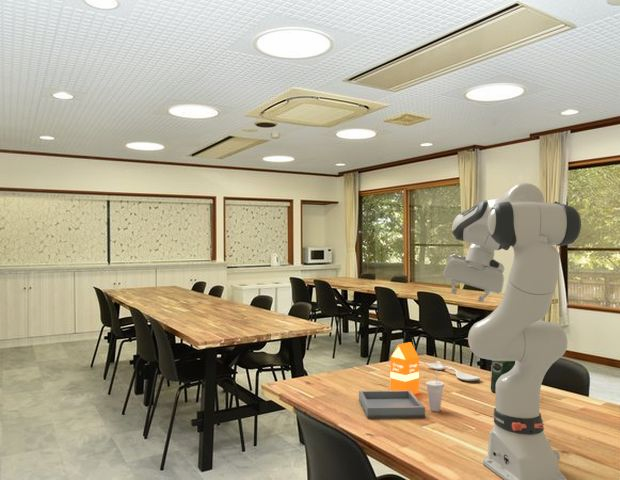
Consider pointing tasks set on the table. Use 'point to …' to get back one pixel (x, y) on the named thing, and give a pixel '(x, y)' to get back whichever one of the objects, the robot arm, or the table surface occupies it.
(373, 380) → the table surface
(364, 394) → the tray
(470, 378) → the spoon
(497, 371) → the coffee jar
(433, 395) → the smoothie
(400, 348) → the orange juice
